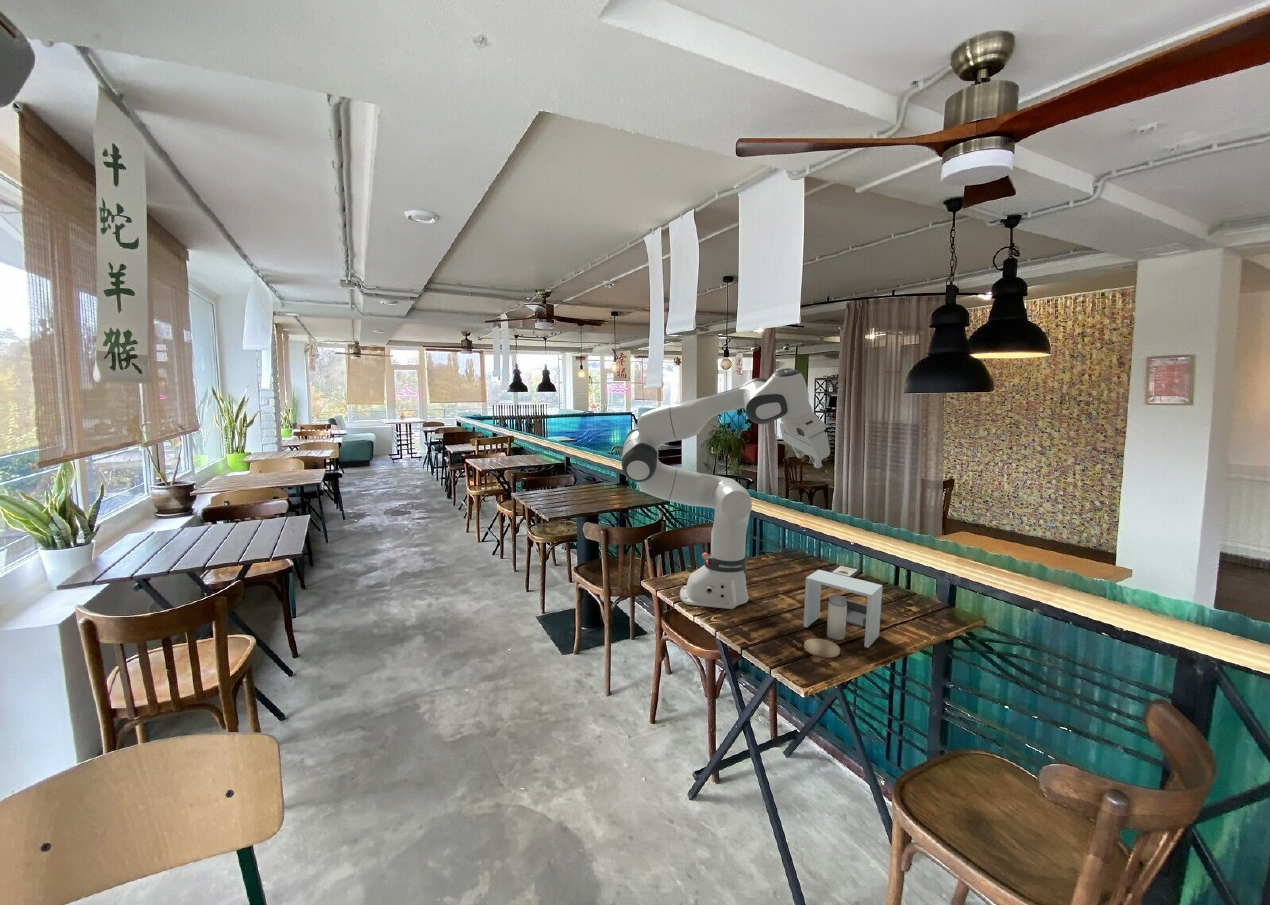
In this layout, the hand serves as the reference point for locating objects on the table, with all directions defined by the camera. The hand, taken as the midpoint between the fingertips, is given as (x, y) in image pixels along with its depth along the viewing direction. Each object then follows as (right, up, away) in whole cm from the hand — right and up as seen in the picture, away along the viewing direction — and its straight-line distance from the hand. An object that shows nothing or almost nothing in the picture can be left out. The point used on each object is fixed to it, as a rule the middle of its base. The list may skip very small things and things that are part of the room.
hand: (809, 461), depth 153 cm
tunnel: (+6, -48, -8) cm, 49 cm away
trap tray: (+14, -47, 0) cm, 49 cm away
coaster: (-3, -49, -18) cm, 53 cm away
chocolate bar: (+24, -43, +35) cm, 61 cm away
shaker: (+4, -49, -11) cm, 50 cm away
